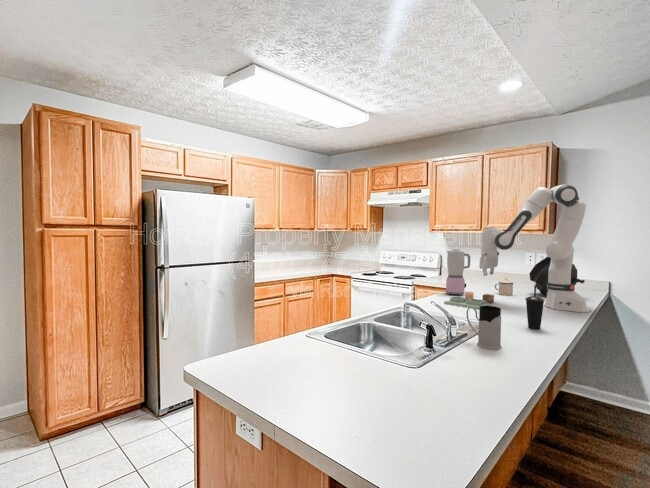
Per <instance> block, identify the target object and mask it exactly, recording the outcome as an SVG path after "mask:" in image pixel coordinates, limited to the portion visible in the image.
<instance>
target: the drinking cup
mask: <svg viewBox="0 0 650 488" xmlns="http://www.w3.org/2000/svg"><path fill="white" fill-rule="evenodd" d="M533 287H534V288H533V289H534V290H533V291H534V292H533V295H530V296H528V297H525V301H526V302H525V304H526V315H527V316H526V318H527V328H528V329H529V330H537V331H539V330H541V328H542V327H541V325H542V318H543V311H544V305H545V302H546V299H545V298H543V297H540V296H537V288H536V284H534V285H533Z"/></svg>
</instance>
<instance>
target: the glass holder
mask: <svg viewBox="0 0 650 488" xmlns="http://www.w3.org/2000/svg"><path fill="white" fill-rule="evenodd" d="M470 309H473V311H474V314H475V318H476V320H478V332H477V330H475V328H474V327H473V326H472V323H471V322H470V319H469V310H470ZM478 313H479V316H478ZM501 314H502V308H501V307H498V306H493V305H490V306H480V309H478V311H477V309H475V308H472V307H471V308H467V310H466V320H467V323H468V325H469V326H470V328H471V329H472V330H473V332H475V334H476V335H477V336H478V337H477V339H478V340H477V343H476V345H477V347H479V348H481V349H485V350H491V351H498V350H499V351H500V350H501V349H502V345H501V343H502V342H501V341H502V340H501V339H502V338H501V337H502V335H501V334H502V315H501ZM478 317H479V318H478Z"/></svg>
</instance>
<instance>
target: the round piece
mask: <svg viewBox="0 0 650 488" xmlns="http://www.w3.org/2000/svg"><path fill="white" fill-rule="evenodd" d="M464 298H466V300H469V299H474V291H464Z"/></svg>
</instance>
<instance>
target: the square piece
mask: <svg viewBox="0 0 650 488" xmlns="http://www.w3.org/2000/svg"><path fill="white" fill-rule="evenodd" d="M482 300H485V301H486V303H489V304H490V305H491V304H494V303H495V295H494V294H489V293H485V294H482Z"/></svg>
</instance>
